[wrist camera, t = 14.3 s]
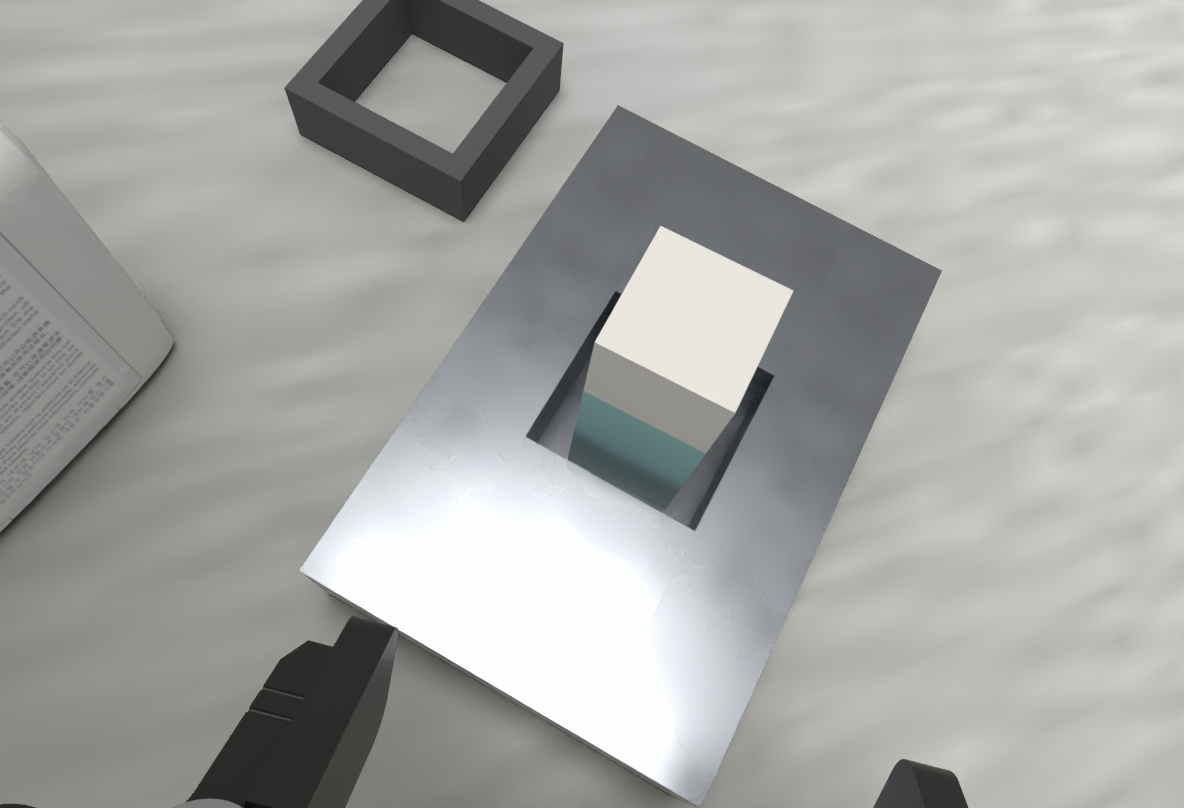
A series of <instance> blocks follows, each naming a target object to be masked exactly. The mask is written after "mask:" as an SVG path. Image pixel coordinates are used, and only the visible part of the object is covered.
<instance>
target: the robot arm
mask: <svg viewBox="0 0 1184 808" xmlns="http://www.w3.org/2000/svg"><path fill="white" fill-rule="evenodd" d="M398 633H399V630H398V627H394V626H390V625H386V624H382V623H378V622H374V621H370V620H367V619H363V618H359V617H355V616H352V617H351V618H350V619H349V621H348V622H347V624H346V626H345V627H344V629H343V631H342V632H341V634H340V636H339V638H338V639H337V641H336V643H335V645H334V646H333V647H331V646H327V645H324V644H320V643H316V642H312V641H307V642H305V643H304V644H302V645H301V646H299V647H298V648H296V649H295V650H294V651H292V652H291V653H289V654H288V655H286V656H285V657H283V658H282V659H280V661H279V662H278V664H277V665H276V667H275V669H274V670H273V672H272V673H271V675H270V676H269V678H268V679H267V681H266V682H265V684H264V686H263V689H262V691H260V692H259V693H258V695H257V696H256V698H255V699H254V701H253V702H252V704H251V705H250V708H249V711H248V712H246V713H245V715H244V716H243V718H242V719H241V721H240V722H239V724H238V725H237V727H236V729H235V730H234V732H233V733H232V735H231V736H230V738H229V739H228V741H227V742H226V744H225V746H224V747H223V749H222V750H221V752H220V753H219V755H218V756H217V758H216V759H215V761H214V762H213V764H212V766H211V767H210V769H209V770H208V772H207V773H206V775H205V776H204V778H203V779H202V781H201V782H200V784H199V786H198V787H197V789H196V790H195V791H194V793H193V794H192V795H191V797H190V798H189V799H188V800H187V801H186V802H185V803H183V804H180V805H177V806H175V807H173V808H345V807H346V805H347V802H348V800H349V798H350V795H351V793H352V791H353V789H354V786H355V784H356V782H357V780H358V777H359V775H360V773H361V770H362V768H363V766H364V764H365V761H366V759H367V757H368V755H369V752H370V750H371V748H372V745H373V743H374V741H375V738H376V736H377V733H378V730H379V727H380V724H381V721H382V717H383V714H384V710H385V706H386V701H387V696H388V691H389V685H390V679H391V674H392V668H393V663H394V657H395V651H396V646H397V640H398ZM0 808H35V807H31V806H28V805H21V804H1V805H0ZM873 808H968V806H967V803H966V800H965V798H964V795H963V792H962V790H961V787H960V784H959V781H958V779H957V777H956V776H955V774H954V773H953V772H951V771H949V770H945V769H941V768H937V767H933V766H929V765H925V764H921V763H918V762H914V761H910V760H906V759H902V760H900V761H899V762H897V764H896V765H895V767H894V768H893V770H892V772H891V774H890V776H889V778H888V780H887V782H886V784H885V786H884V788H883V790H882V792H881V794H880V796H879V798H878V799H877V801H876V803H875V805H874V807H873Z"/></svg>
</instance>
